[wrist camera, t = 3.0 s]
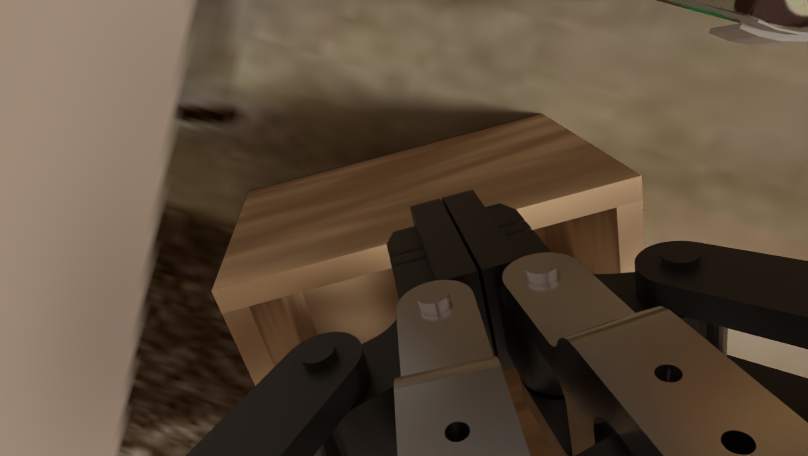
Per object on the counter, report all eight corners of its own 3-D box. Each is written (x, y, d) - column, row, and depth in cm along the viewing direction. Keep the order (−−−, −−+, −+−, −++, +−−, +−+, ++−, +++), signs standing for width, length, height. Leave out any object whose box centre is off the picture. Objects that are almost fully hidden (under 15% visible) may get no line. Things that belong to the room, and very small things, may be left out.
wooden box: (244, 192, 28) (205, 292, 19) (542, 113, 29) (641, 175, 20) (331, 414, 35) (332, 563, 26) (570, 348, 35) (653, 474, 26)
